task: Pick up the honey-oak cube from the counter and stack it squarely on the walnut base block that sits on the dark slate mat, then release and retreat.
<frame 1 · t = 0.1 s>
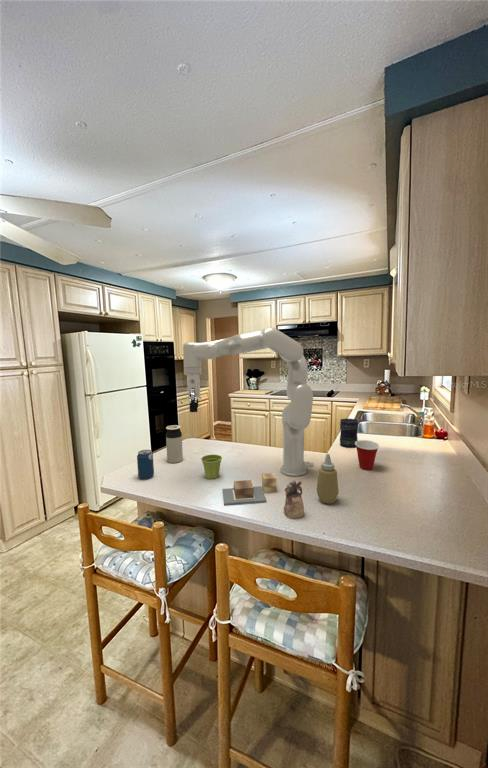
hand: (194, 409, 136), 31 cm above the countertop, tool pointing down, fingers open, 9 cm apart
travel mug: (175, 460, 161), on the countertop
walnut base: (243, 494, 121), point 1 cm above the countertop, touching slate mat
squeeze bottle: (327, 500, 117), on the countertop
oak cube: (269, 489, 127), on the countertop
soda can: (146, 477, 141), on the countertop
figurine: (293, 513, 108), on the countertop
plastic cup: (366, 468, 147), on the countertop
plant pot: (212, 476, 141), on the countertop
storage jar: (348, 445, 180), on the countertop
slate mat: (243, 496, 121), on the countertop
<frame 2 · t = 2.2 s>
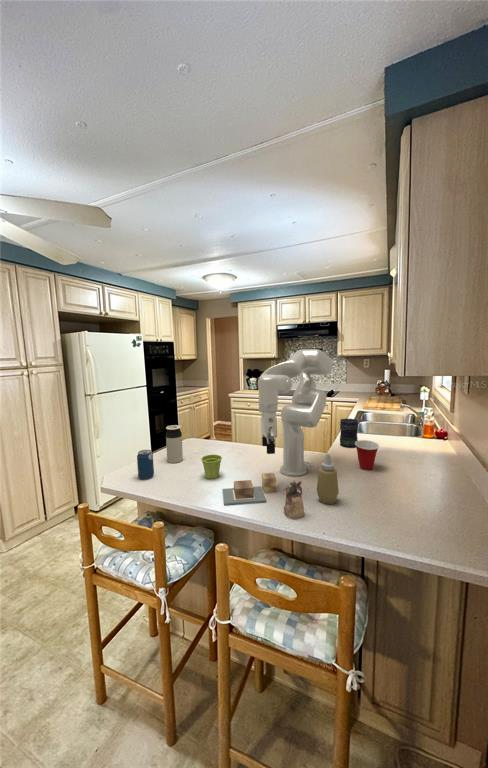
hand: (268, 449, 124), 17 cm above the countertop, tool pointing down, fingers open, 9 cm apart
nothing on the countertop moved.
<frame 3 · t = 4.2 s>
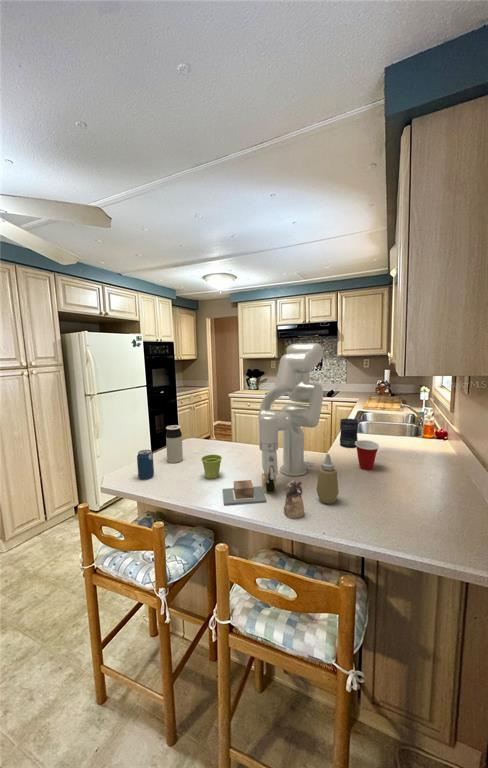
hand: (269, 487, 126), 1 cm above the countertop, tool pointing down, fingers closed on oak cube, 5 cm apart
oak cube: (269, 489, 126), on the countertop, touching gripper
everything else where it was.
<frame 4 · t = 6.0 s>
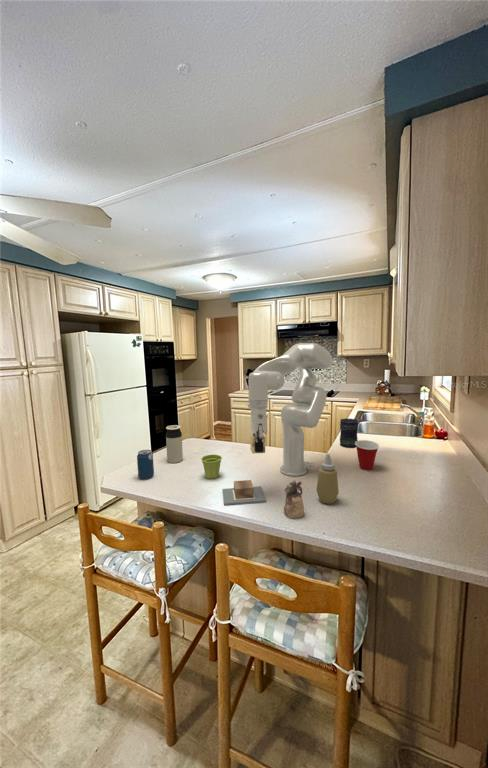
hand: (257, 449, 122), 18 cm above the countertop, tool pointing down, fingers closed on oak cube, 5 cm apart
oak cube: (257, 451, 122), point 17 cm above the countertop, touching gripper
everything else where it was.
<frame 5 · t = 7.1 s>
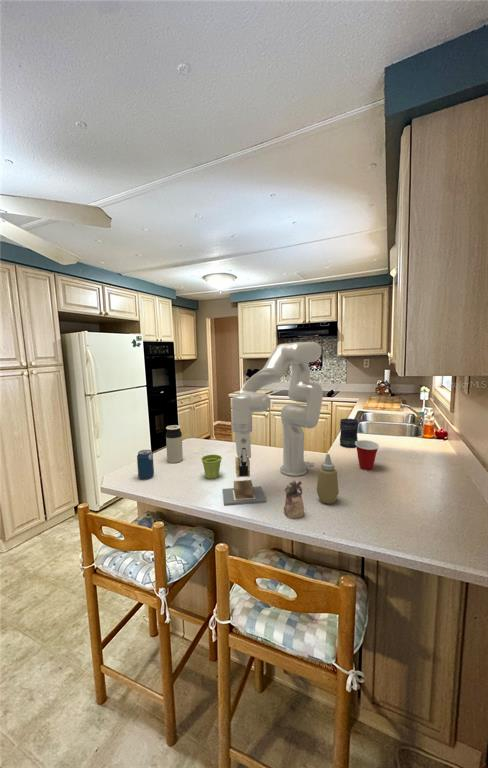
hand: (242, 472, 120), 10 cm above the countertop, tool pointing down, fingers closed on oak cube, 5 cm apart
oak cube: (242, 474, 120), point 9 cm above the countertop, touching gripper
everything else where it was.
when the fingers open (7 cm above the countertop, at t = 7.9 s): oak cube drops 1 cm, resting on walnut base.
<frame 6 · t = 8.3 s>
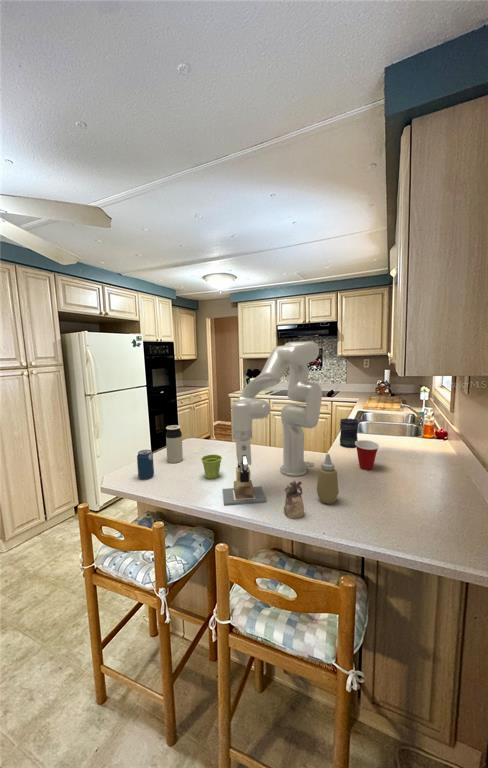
hand: (243, 476, 120), 8 cm above the countertop, tool pointing down, fingers open, 9 cm apart
walnut base: (243, 494, 121), point 1 cm above the countertop, touching oak cube, slate mat
oak cube: (243, 484, 121), point 5 cm above the countertop, touching walnut base
everything else where it was.
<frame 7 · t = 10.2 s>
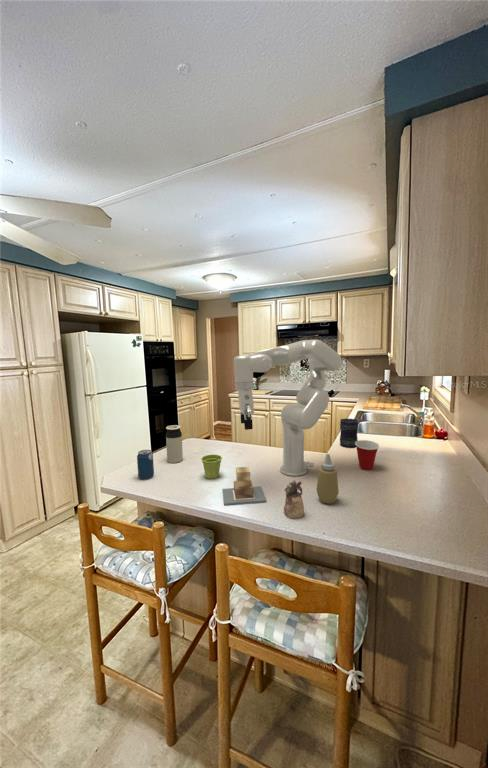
hand: (246, 426, 129), 25 cm above the countertop, tool pointing down, fingers open, 9 cm apart
nothing on the countertop moved.
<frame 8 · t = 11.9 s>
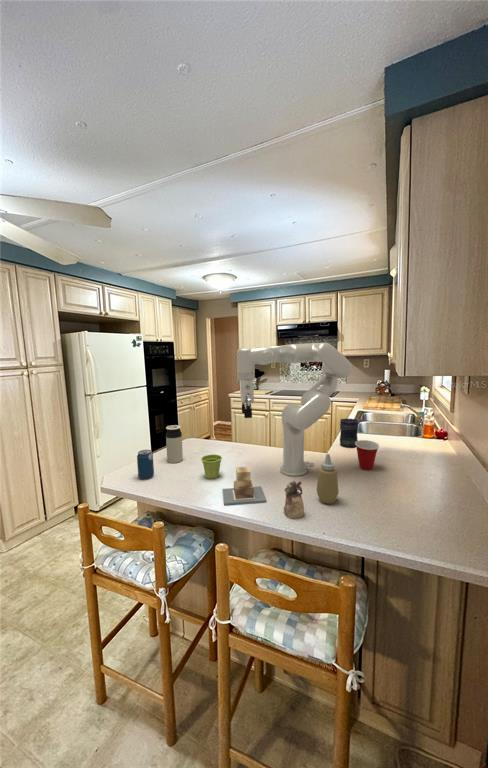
hand: (246, 415, 136), 28 cm above the countertop, tool pointing down, fingers open, 9 cm apart
nothing on the countertop moved.
at the end: oak cube 0.0 cm off-centre on the walnut base, point 4.0 cm above the walnut base's base; oak cube tilted 0°; the gripper is holding nothing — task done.
